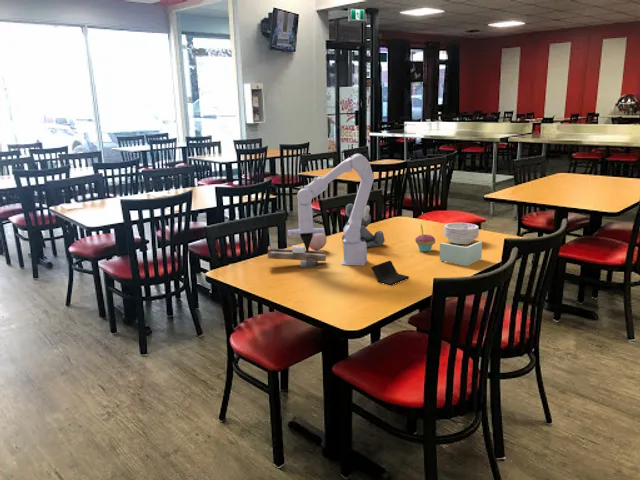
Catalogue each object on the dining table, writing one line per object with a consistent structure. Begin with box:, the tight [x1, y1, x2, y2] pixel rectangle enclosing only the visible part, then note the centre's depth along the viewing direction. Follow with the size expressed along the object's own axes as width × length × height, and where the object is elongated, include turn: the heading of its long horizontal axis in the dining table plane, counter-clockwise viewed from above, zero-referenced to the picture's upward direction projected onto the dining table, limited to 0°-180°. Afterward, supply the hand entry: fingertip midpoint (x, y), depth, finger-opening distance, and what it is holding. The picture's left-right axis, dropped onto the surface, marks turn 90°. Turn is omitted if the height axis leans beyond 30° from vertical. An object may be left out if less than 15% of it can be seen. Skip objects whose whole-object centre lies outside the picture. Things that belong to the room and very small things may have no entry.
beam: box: [267, 245, 327, 262], centre depth 209 cm, size 23×7×4 cm, turn 95°
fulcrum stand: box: [299, 258, 320, 270], centre depth 211 cm, size 7×10×4 cm
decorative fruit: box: [309, 233, 328, 251], centre depth 229 cm, size 9×8×10 cm
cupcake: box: [414, 224, 436, 252], centre depth 223 cm, size 9×8×12 cm
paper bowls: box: [443, 222, 480, 245], centre depth 235 cm, size 15×15×8 cm
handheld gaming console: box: [371, 260, 410, 286], centre depth 189 cm, size 12×7×10 cm
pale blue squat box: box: [439, 240, 483, 267], centre depth 208 cm, size 12×12×8 cm
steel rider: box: [291, 244, 306, 254], centre depth 209 cm, size 5×4×3 cm
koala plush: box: [341, 203, 385, 248], centre depth 236 cm, size 17×18×20 cm
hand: (307, 251), depth 210 cm, fingers closed
